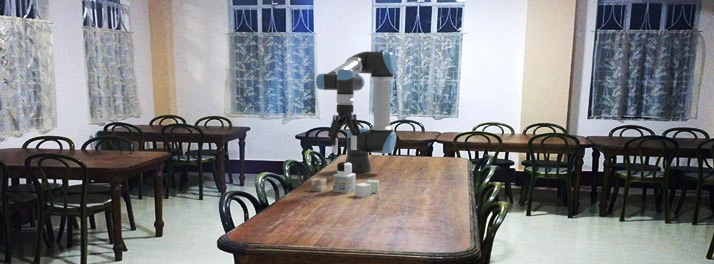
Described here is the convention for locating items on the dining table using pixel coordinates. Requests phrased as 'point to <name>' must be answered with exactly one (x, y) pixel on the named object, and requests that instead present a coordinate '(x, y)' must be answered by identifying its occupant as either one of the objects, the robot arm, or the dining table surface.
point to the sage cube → (374, 185)
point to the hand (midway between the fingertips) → (344, 151)
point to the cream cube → (362, 190)
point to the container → (344, 178)
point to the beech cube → (318, 184)
